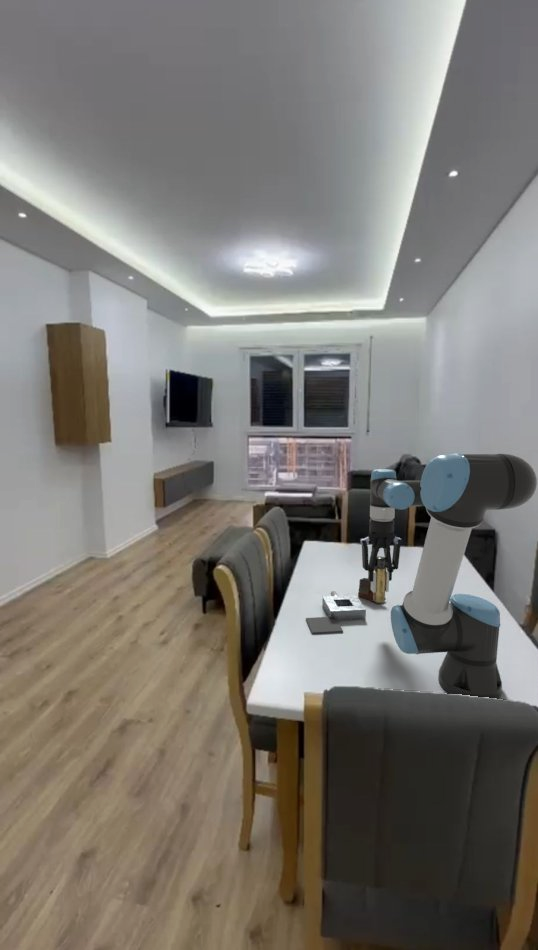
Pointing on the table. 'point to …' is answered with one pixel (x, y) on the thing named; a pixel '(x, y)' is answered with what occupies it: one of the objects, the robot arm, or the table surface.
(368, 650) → the table surface
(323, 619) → the pad
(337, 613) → the block
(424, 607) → the robot arm
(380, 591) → the gold and black cylinder
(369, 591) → the electronic device
